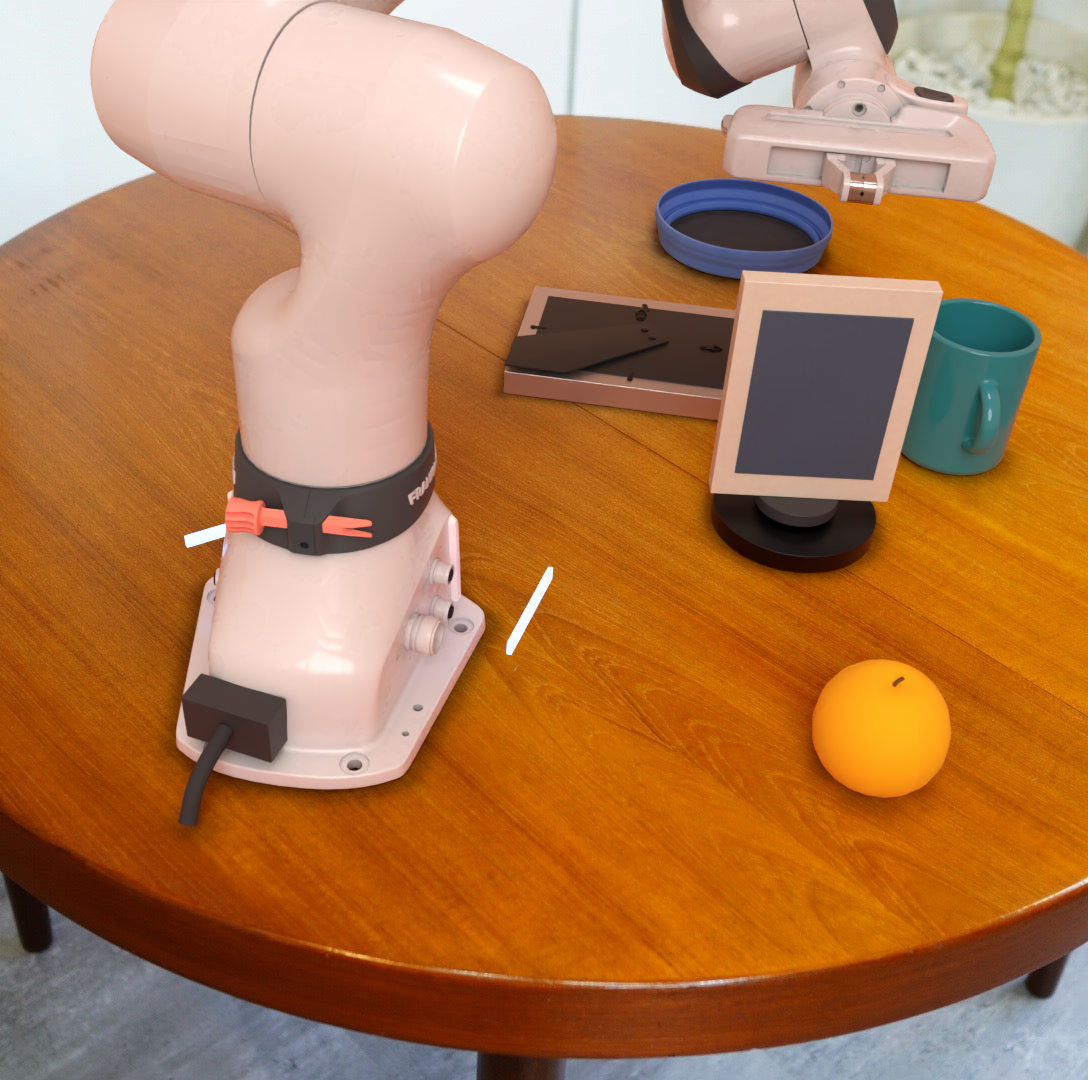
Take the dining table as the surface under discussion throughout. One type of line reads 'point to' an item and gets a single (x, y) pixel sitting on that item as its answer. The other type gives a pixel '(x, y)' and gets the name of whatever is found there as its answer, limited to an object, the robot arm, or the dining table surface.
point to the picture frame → (621, 352)
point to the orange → (881, 728)
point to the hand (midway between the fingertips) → (861, 194)
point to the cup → (971, 386)
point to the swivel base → (794, 535)
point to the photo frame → (819, 390)
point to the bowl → (742, 227)
